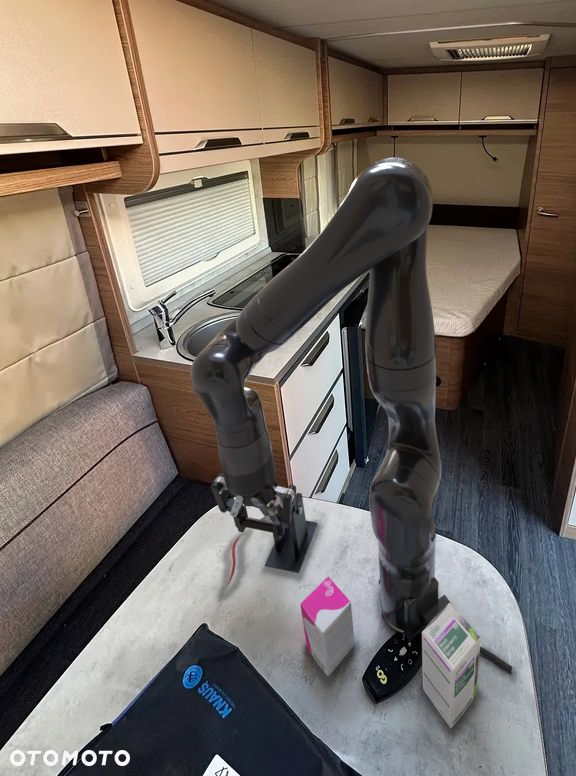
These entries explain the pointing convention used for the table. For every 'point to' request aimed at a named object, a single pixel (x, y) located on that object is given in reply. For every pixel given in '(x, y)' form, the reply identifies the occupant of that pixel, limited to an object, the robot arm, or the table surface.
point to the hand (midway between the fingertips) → (261, 530)
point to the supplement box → (328, 625)
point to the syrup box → (450, 663)
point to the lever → (258, 523)
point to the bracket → (293, 541)
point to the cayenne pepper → (233, 560)
